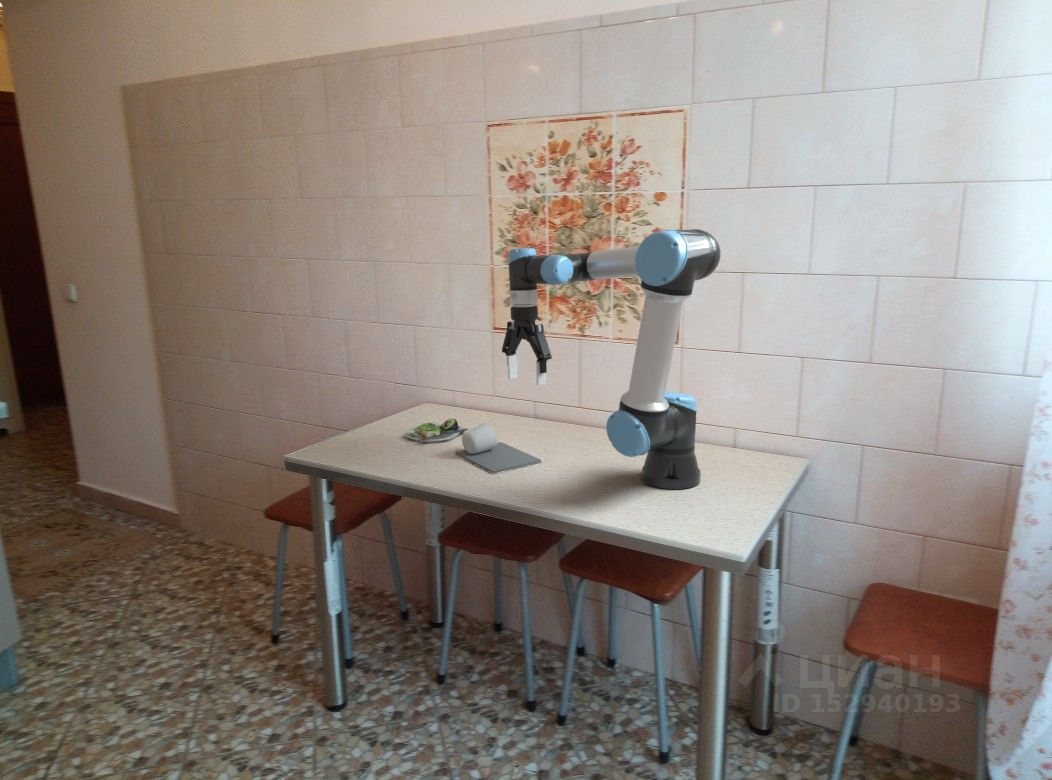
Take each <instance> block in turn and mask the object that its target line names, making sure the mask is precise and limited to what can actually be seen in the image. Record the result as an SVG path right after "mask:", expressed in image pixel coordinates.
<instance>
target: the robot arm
mask: <svg viewBox="0 0 1052 780" xmlns="http://www.w3.org/2000/svg"><path fill="white" fill-rule="evenodd" d="M719 244H720V243H719V242H718V241H717V239H716V238H715V237H714V236H713V235H712V234H711V233H710V232H708V231H705V230H704V229H703V230H702V229H695V228H694V229H663V230H661V231H656V232H653V233H650V234H649V235H648V236H646V237H645V238H644V239H643V240H642V241H641V242H640V244H639V245H636V246H635V245H634V246H629V247H621V248H612V249H603V250H597V251H589V252H588V251H587V252H581V253H570V254H569V253H567V254H565V253H564V254H552V255H551V254H550V255H549V254H547V255H537V250H536V248H533V247H524V248H522V247H521V248H511V249H510V250H509V252H508V264H507V266H508V276H509V277H508V278H509V279H508V281H509V282H508V283H509V297H510V298H509V300H510V301H509V302H510V305H512V306H511V307H510V320H511V321H510V320H509V321H507V322H506V333H505V336H504V339H503V344H502V347H501V353H502V354H505V356H506V362H507V363H506V364H507V377H508V379H509V380H510V379H511V380H512V379H516V378H518V359H517V358H518V356H517V350H518V348H519V347H520V343H522V342H521V341H522V340H526V342H528V343H529V345H530V347H531V349H532V351H533V353H534V355H535V357H536V362H535V368H536V369H535V370H536V373H535V374H536V386H538V387H539V386H544V385H547V361H549V360H552V359H553V357H552V356H553V355H552V352H551V349H550V347H549V344H548V339H547V338H546V335H545V329H544V325H543V323H539V324H536V320H537V319H538V318H539V309H538V308H539V307H538V306H537V304H538V303H539V301H538V300H539V299H538V298H539V297H538V296H539V295H538V285H551V286H559V285H565V284H568V283H575V282H590V281H599V280H607V279H609V280H610V279H620V278H621V279H622V278H632V277H634V278H635V277H639V279H640V280H641V282H640V289H641V291H642V292H644V294H645V295H644V297H645V298H644V302H643V309H642V313H641V314H642V315H641V318H640V319H641V320H640V324H639V330H638V336H637V342H636V348H635V353H634V359H633V364H632V368H631V369H632V370H631V375H630V379H629V384H628V385H629V386H628V390H627V391H626V392H624V393H622V395H621V396H620V400H619V405H618V410H616V411H614V412H613V413H612V414H611V415H610V416H608V419H607V421H606V434H607V438H608V440H609V441H610V442H611V446H612V447H613V448H614V449H615V451H617V452H618V453H619V454H621V455H622V456H625V457H629V458H635V457H639V456H645V455H646V457H645V461H644V464H643V466H642V468H641V480H642V481H643V483H644V484H647V485H649V486H651V487H655V488H660V489H665V490H666V489H667V490H685V489H690V488H694V487H696V486H698V485H699V484H700V483H701V475H702V474H701V469H700V468H699V464H698V460H697V456H696V447H695V446H696V430H697V429H696V426H697V425H696V424H697V413H698V409H697V400H696V398H695V397H694V396H692V395H691V394H687V393H681V392H675V391H666V389H667V385H668V379H669V374H670V370H671V369H670V368H671V364H672V360H673V356H674V355H673V354H674V350H675V344H676V341H677V340H676V339H677V335H678V330H679V324H680V319H681V314H682V309H683V305H684V301H685V300H687V299H688V298H690V297H691V296H692V295H693V289H694V286H695V285H694V284H695V282H696V281H699V280H703V279H705V278H707V277H709V276H710V275H712V274H713V272H714V271H715V270H717V267H718V266H719V264H720V261H721V247H720V245H719Z"/></svg>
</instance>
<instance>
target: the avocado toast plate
mask: <svg viewBox="0 0 1052 780" xmlns="http://www.w3.org/2000/svg"><path fill="white" fill-rule="evenodd" d="M467 431H469V428H463V427H462V426H461V425H459V423H458V421H457V419H456V418H449V419H446V420H444V422H442V423H435V422H425V423H422V424H419V425H417V426H415V427H414V428H411V429H410V430H408V431H406V432H405V433H404V435H405V437H406V438H407V439H408V440H410V441H413V442H416V441H417V442H418V443H424V442H425V444H429V443H430V444H432V443H431V442H434V443H443V441H444V442H449V441H451V440H453V439H454V437H455V438H456V436H457V437H458V435H459V436H460V435H462V434H463V433H466V432H467ZM417 433H418V434H420V435H422V437H423V438H420V437H415V436H416V435H418V434H417ZM448 440H449V441H448Z"/></svg>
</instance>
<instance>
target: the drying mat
mask: <svg viewBox="0 0 1052 780" xmlns="http://www.w3.org/2000/svg"><path fill="white" fill-rule="evenodd" d="M454 454H456V456H457V455H458V456H457V457H459V456H460V457H459V458H461V457H462V458H461V459H463V458H464V459H463V460H465V459H466V460H465V461H467V460H468V461H467V462H469V461H470V462H469V463H471V462H472V463H471V464H473V463H474V464H473V465H475V464H476V465H475V466H477V465H478V466H480V467H481V468H480V467H479V468H480V469H482V468H484V469H485V470H484V469H483V470H484V471H486V470H487V471H486V472H488V471H490V472H492V473H495V474H498V473H497V472H500V473H502V472H501V471H504V472H506V471H505V470H508V471H510V470H509V469H512V470H515V468H516V469H519V467H520V468H524V467H528V466H527V465H529V466H533V465H536V463H537V464H540V463H542V459H541V458H538V457H536V456H534V455H532V454H529V453H527V452H526V451H525V452H524V451H523V450H520V449H517V448H516V447H514V446H511V445H509V444H507V443H504V442H502V441H500V442H497V445H496V447H495V448H494V449H491V450H488V451H484V452H480V453H477V454H470V453H468V452H467V451H466V450H465V449H463V450H458V451H454ZM532 464H533V465H532ZM478 466H477V467H478ZM523 466H524V467H523ZM490 472H489V473H490ZM492 473H491V474H492Z"/></svg>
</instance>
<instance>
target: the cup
mask: <svg viewBox="0 0 1052 780" xmlns="http://www.w3.org/2000/svg"><path fill="white" fill-rule="evenodd" d="M497 443H498V437H497V434H496V431H495V429H494V428H493V426H491V424H489V423H485V422H484V423H482V424H480V425H477V426H475V427H474V428H472V429H470V430H467V431H465V432H464V434H463V436H462V438H461V444H462V446H463V448H464V449H463V450H466V451H467V452H468V453H470V454H477V453H480V452H484V451H488V450H491V449H494V448H495V447H496V445H497Z"/></svg>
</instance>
